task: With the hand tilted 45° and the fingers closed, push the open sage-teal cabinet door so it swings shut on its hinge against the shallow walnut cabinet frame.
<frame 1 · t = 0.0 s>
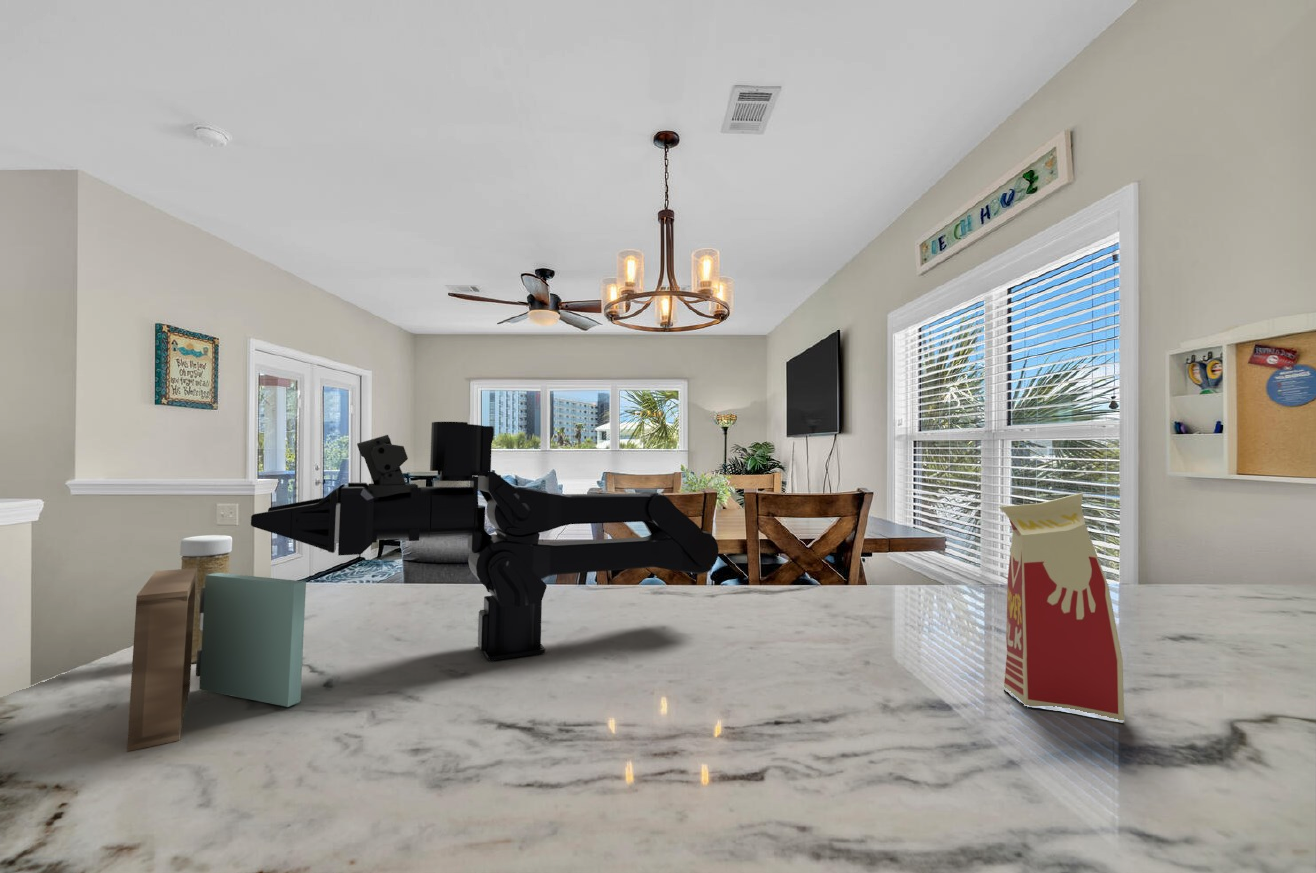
hand: (260, 516, 56), 17 cm above the countertop, tool horizontal, fingers open, 9 cm apart
sprinkles bottle: (200, 659, 63), on the countertop
cabinet: (161, 717, 48), on the countertop
door: (247, 635, 52), point 6 cm above the countertop, hinge at 35.0°
milk carton: (1056, 699, 55), on the countertop
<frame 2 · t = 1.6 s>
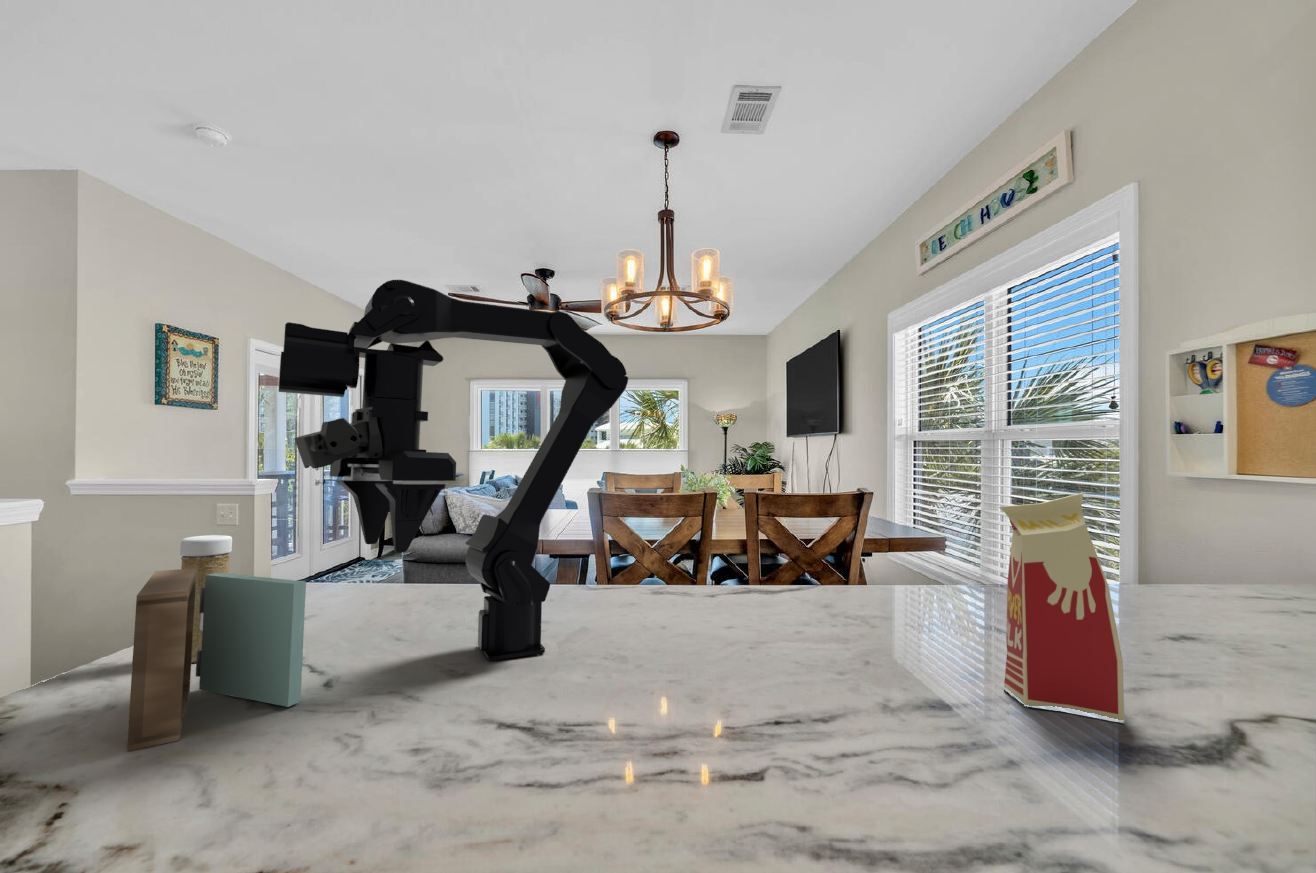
hand: (385, 547, 59), 13 cm above the countertop, tool pointing down, fingers open, 8 cm apart
nothing on the countertop moved.
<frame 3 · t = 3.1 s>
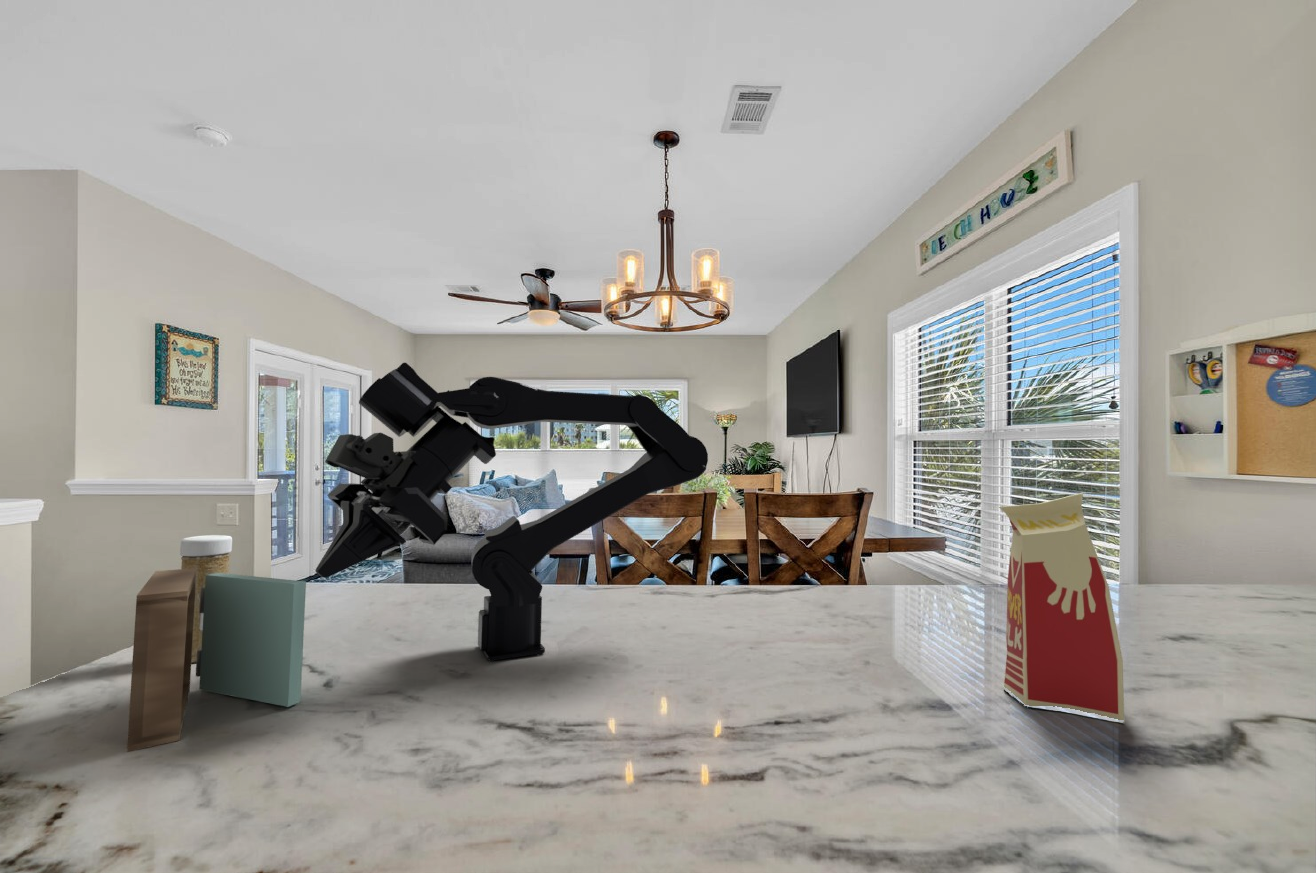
hand: (319, 574, 55), 11 cm above the countertop, tool tilted 45°, fingers closed
nothing on the countertop moved.
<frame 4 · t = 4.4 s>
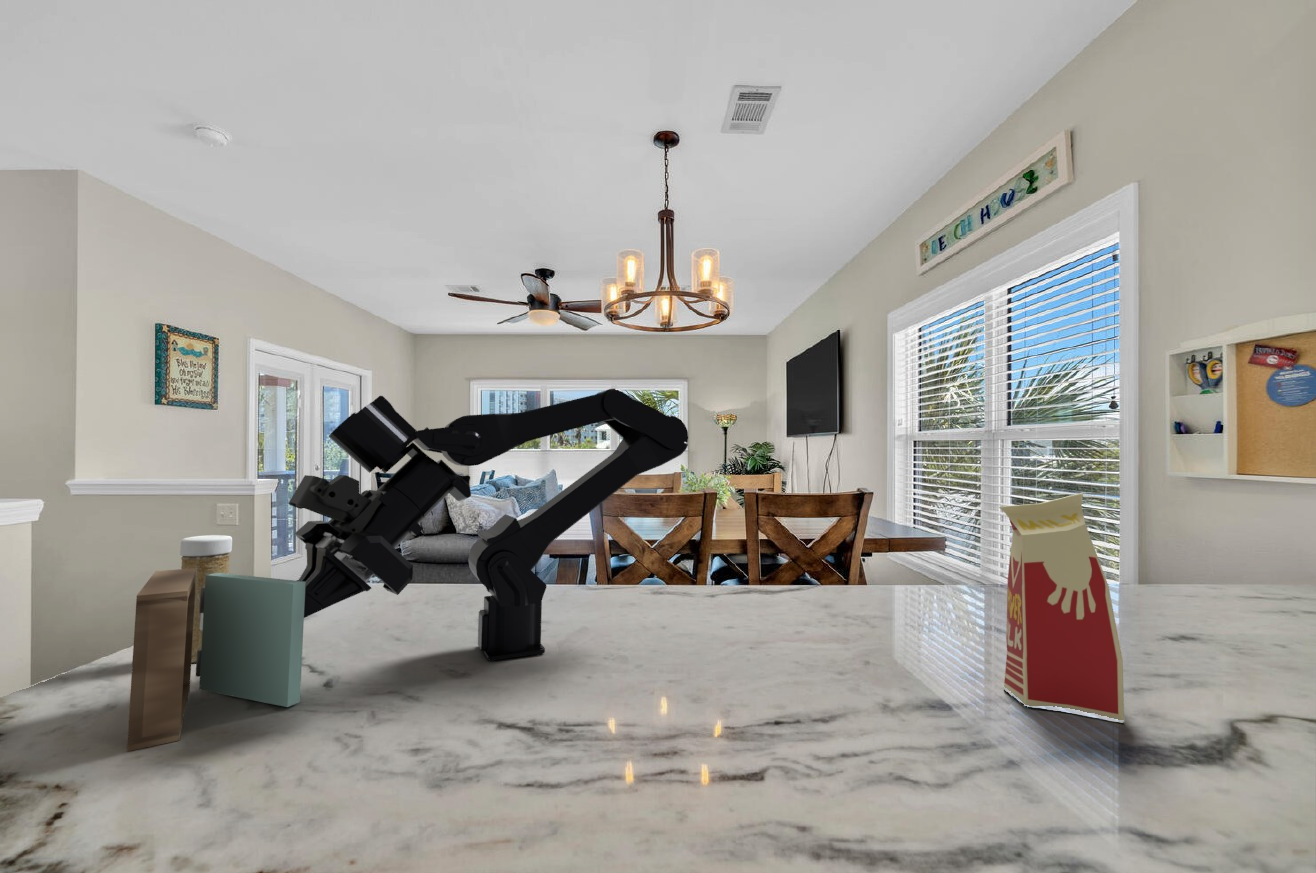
hand: (278, 623, 53), 7 cm above the countertop, tool tilted 45°, fingers closed
door: (247, 635, 52), point 6 cm above the countertop, hinge at 34.7°, touching gripper
everything else where it was.
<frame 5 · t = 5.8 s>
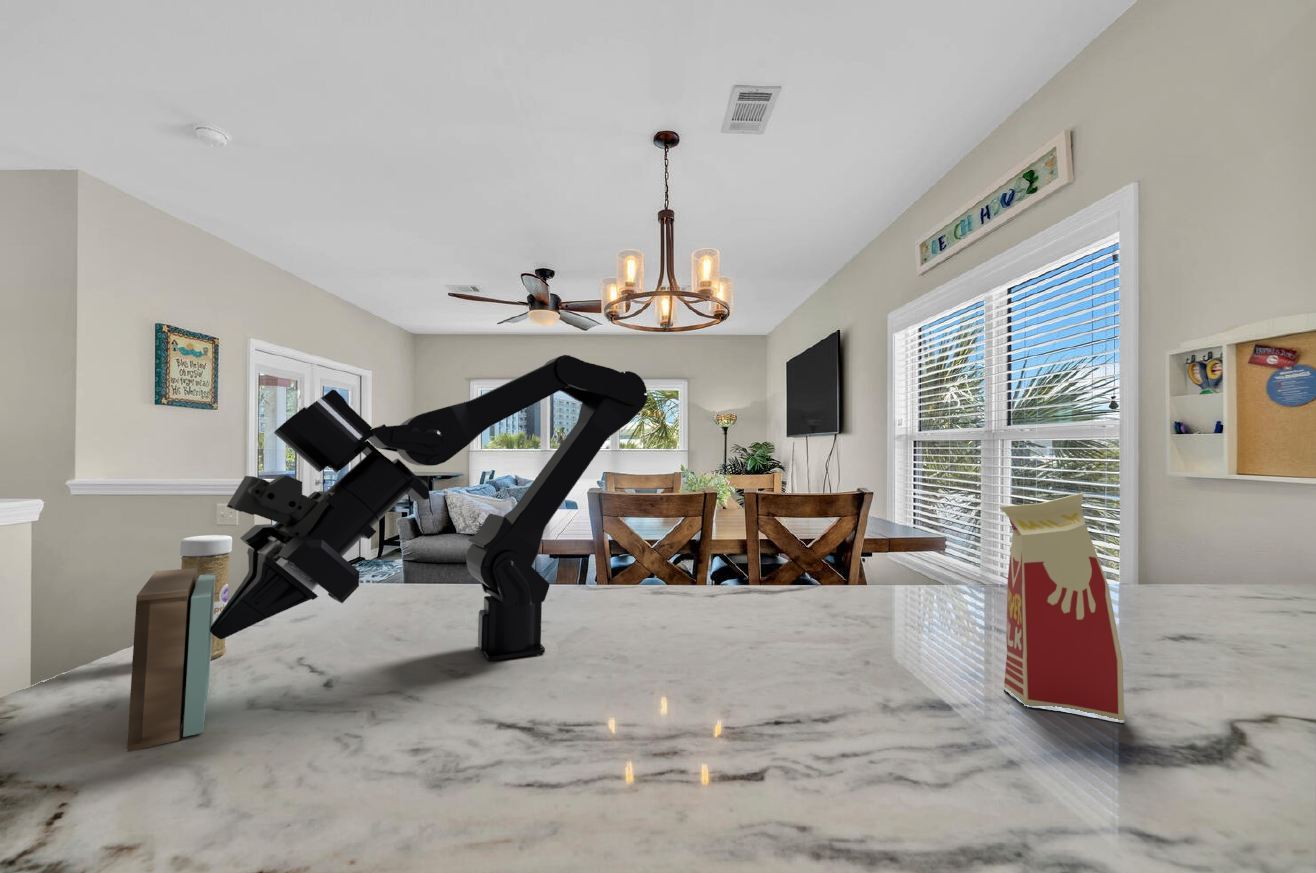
hand: (214, 635, 49), 7 cm above the countertop, tool tilted 45°, fingers closed
door: (201, 645, 50), point 6 cm above the countertop, hinge at -0.1°, touching gripper
everything else where it was.
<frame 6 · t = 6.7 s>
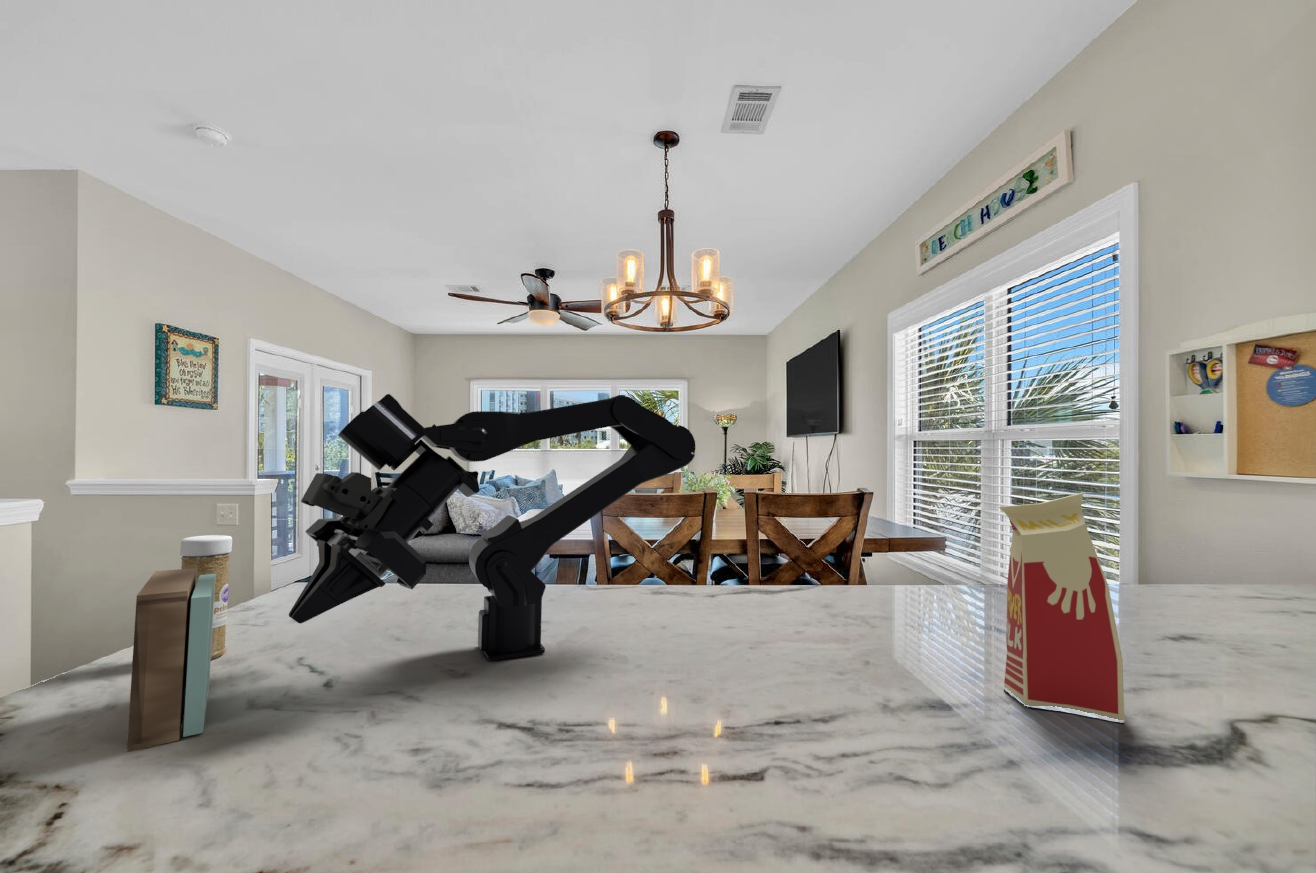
hand: (293, 619, 53), 7 cm above the countertop, tool tilted 45°, fingers closed
door: (201, 645, 50), point 6 cm above the countertop, hinge at -0.2°
everything else where it was.
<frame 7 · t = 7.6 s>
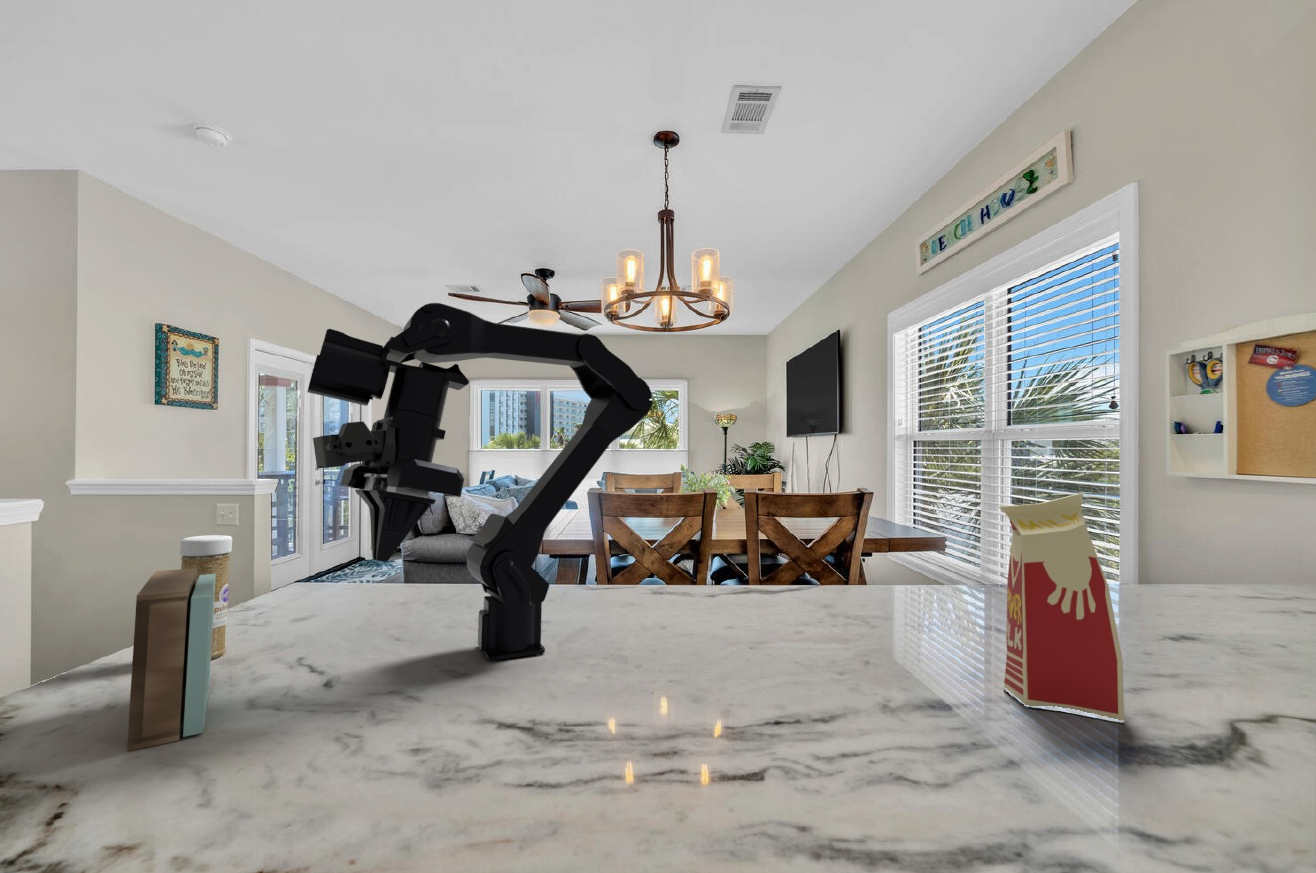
hand: (379, 560, 58), 12 cm above the countertop, tool pointing down, fingers closed
nothing on the countertop moved.
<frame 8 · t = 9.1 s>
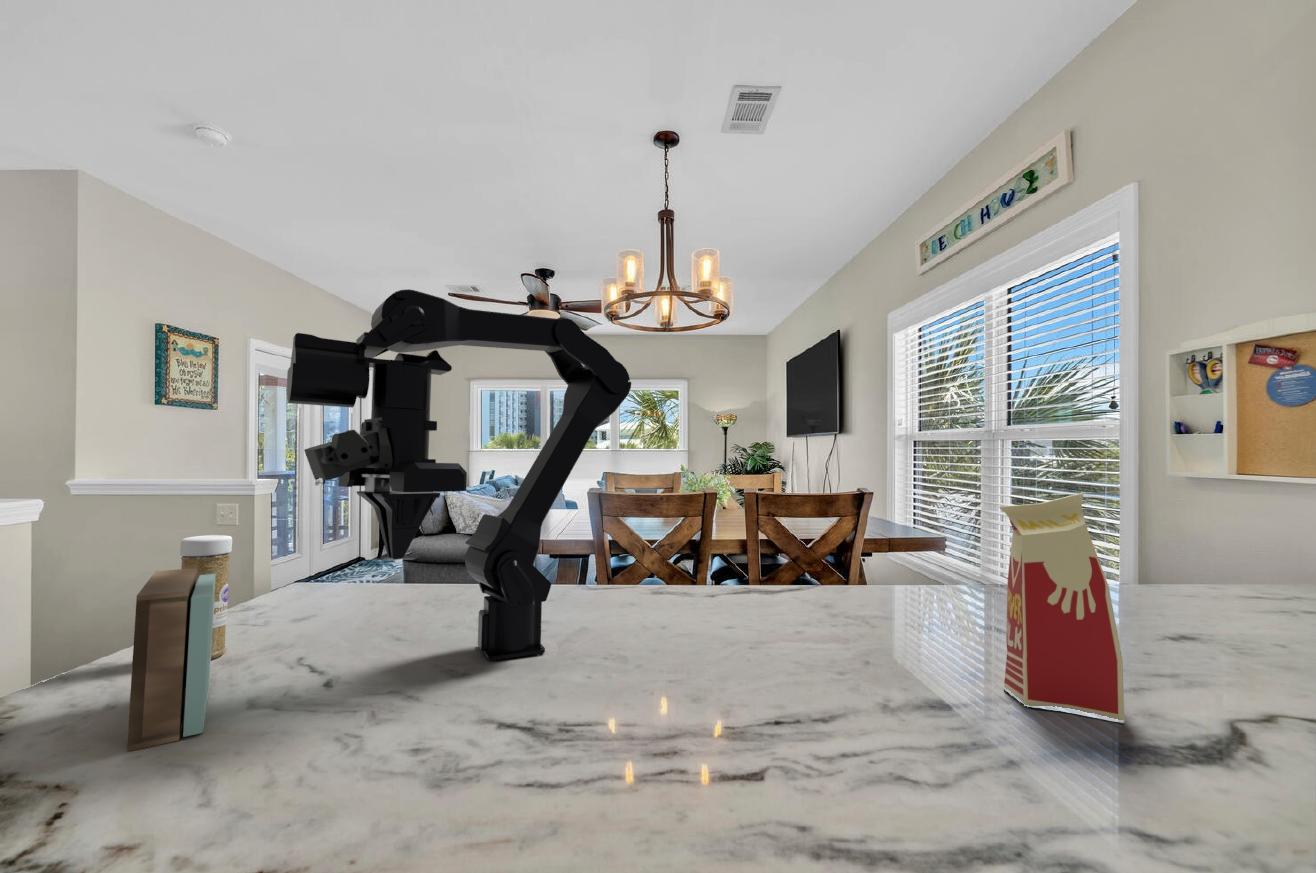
hand: (395, 558, 59), 12 cm above the countertop, tool pointing down, fingers closed
nothing on the countertop moved.
at the end: door at +0° (first picture: +35°) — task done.
